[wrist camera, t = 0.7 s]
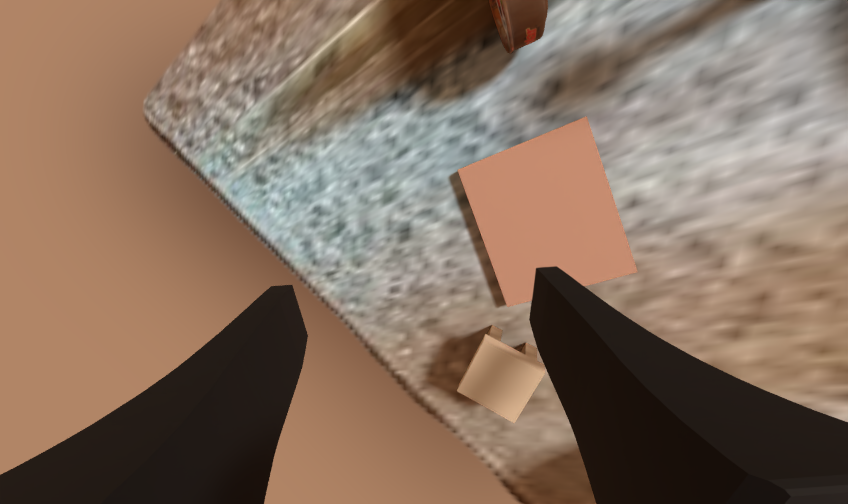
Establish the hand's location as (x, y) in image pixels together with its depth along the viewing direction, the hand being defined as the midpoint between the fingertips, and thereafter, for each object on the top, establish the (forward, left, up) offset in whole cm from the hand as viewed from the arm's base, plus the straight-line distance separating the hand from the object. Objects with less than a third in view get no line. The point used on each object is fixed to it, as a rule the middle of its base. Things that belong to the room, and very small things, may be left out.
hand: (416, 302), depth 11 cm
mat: (-1, -4, -21) cm, 21 cm away
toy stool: (-12, +3, -21) cm, 24 cm away
